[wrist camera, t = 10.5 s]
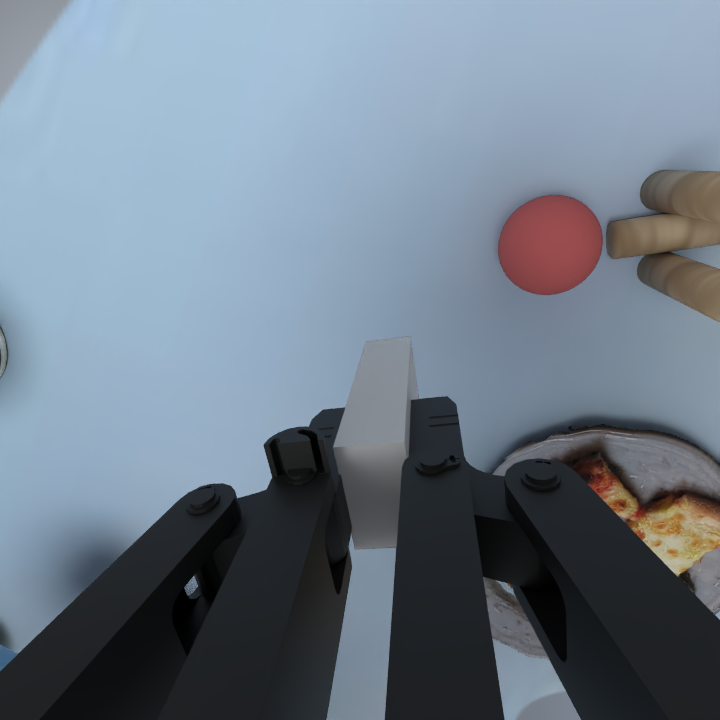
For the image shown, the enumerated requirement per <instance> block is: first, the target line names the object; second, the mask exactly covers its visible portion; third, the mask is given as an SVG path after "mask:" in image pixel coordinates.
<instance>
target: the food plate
mask: <svg viewBox="0 0 720 720" xmlns="http://www.w3.org/2000/svg"><path fill="white" fill-rule="evenodd" d="M569 429H570V430H572V432H574V433H571V434H569V435H568V433H565V432H558V433H554V434H551V435H550V436H549V437H548V438H547V439H546V440H545V441H542V442H537V441H536V440H534V441H529V442H527V443H526V444H524V445H523V446H521V447H520V448H518V449H517V450H515V452H513V453H511V454H510V455H509V456H507V457H506V458H508V457H509V458H508V459H506V458H504V459H506V461H505V462H504V463H501V465H499V466H498V467H497V469H496V470H495V471H494V472H493V473H492V474H493V475H499V476H505V473H506V470H507V469H508V468H509V467H511V466H512V465H513V464H514V463H517V462H520V461H523V460H526V459H537V458H540V459H549V460H554V461H557V462H560V463H563V464H566V465H567V466H568V467H570V468H571V469H573V470H574V471H575V472H576V473H577V474H578V475H579V476H580V477H581V478H582V479H583V480H584V481H585V482H586V483H587V484H588V485H589V486H590V487H591V488H592V489H593V490H594V491H595V492H596V493H597V494H598V495H599V496H600V497H601V498H602V499H603V500H604V501H605V502H606V504H607V505H608V506H609V507H610V508H611V509H612V510H613V511H614V512H615V513H616V514H617V515H618V516H619V517H620V518H621V519H622V520H623V521H624V522H625V523H626V524H627V525H628V526H629V527H630V528H631V529H632V530H633V531H634V532H635V533H636V534H637V535H638V536H639V537H640V538H641V540H642V541H643V542H644V543H645V544H646V545H647V546H648V547H649V548H650V549H651V550H652V551H653V552H654V553H655V554H656V555H657V556H658V557H659V558H660V559H661V560H662V561H663V562H664V563H665V564H666V565H667V566H668V567H669V568H670V569H671V570H672V571H673V572H674V573H675V575H676V576H677V577H678V578H679V579H680V580H681V581H682V582H683V583H684V584H685V585H686V586H687V587H688V588H689V589H690V590H691V591H692V592H693V593H694V594H695V595H696V596H697V597H698V598H699V599H700V600H701V601H702V602H703V603H704V604H705V605H706V606H707V607H708V608H709V609H710V611H711V612H712V613H713V614H714V615H715V614H717V613H718V612H719V611H720V609H718V610H717V611H716V612H714V611H715V610H716V609H717V608H720V463H718V462H717V460H715V458H713V457H712V456H711V455H709V454H708V453H707V452H705V451H703V450H702V449H700V448H699V447H698V446H696V445H695V444H693V443H690V442H689V441H688V440H687V441H686V440H684V439H681V438H679V437H677V436H673V434H667V433H663V432H662V433H661V432H659V431H652V430H640V431H639V430H633V429H631V430H630V429H623V428H616V427H611V426H607V425H603V424H602V425H596V426H592V427H588V426H585V427H582V428H578V429H576V430H574V429H571V426H570V427H569ZM504 459H503V460H504ZM483 580H484V586H485V593H486V600H487V606H488V613H489V620H490V626H491V633H492V638H493V639H496V641H497V640H499V641H500V642H501V643H504V644H506V645H508V646H511V647H512V648H514V649H517V650H518V652H521V653H524V654H525V655H527V656H529V657H530V656H531V657H538V658H547V659H548V660H549V658H548V656H547V654H546V652H545V650H544V648H543V646H542V645H541V643H540V641H539V639H538V637H537V635H536V633H535V631H534V629H533V627H532V626H531V624H530V622H529V620H528V618H527V616H526V614H525V612H524V610H523V609H522V607H521V605H520V603H519V601H518V599H517V597H516V596H514V595H512V594H511V593H508V592H507V591H505V590H504V589H503V588H502V586H501V585H500V584H499V583H498V582H496V581H495V580H493V579H489V578H485V577H483ZM508 586H510V587H511V588H513V587H512V584H510V583H508Z"/></svg>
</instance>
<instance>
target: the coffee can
mask: <svg viewBox="0 0 720 720" xmlns="http://www.w3.org/2000/svg"><path fill="white" fill-rule="evenodd" d="M6 362H7V349H6V343H5V338H4V335H3V333H2V331H1V328H0V377H1V376H2V374H3V372H4V370H5V367H6Z"/></svg>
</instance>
